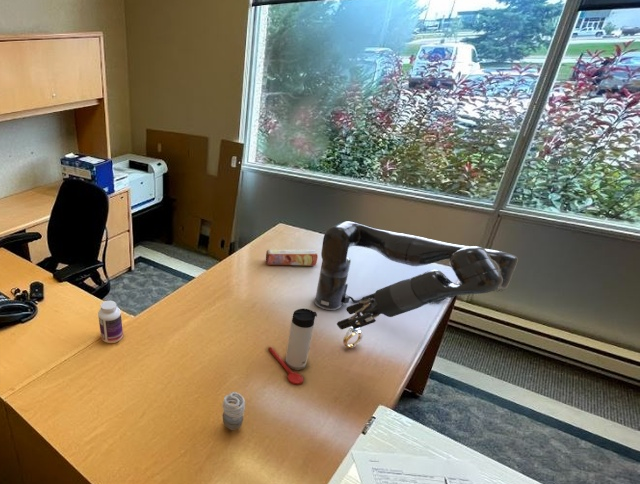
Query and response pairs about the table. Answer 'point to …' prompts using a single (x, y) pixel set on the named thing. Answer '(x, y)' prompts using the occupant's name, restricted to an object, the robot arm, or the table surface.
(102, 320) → the pill bottle
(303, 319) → the travel mug
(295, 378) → the spoon
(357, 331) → the ring
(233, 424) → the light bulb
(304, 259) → the snack package
